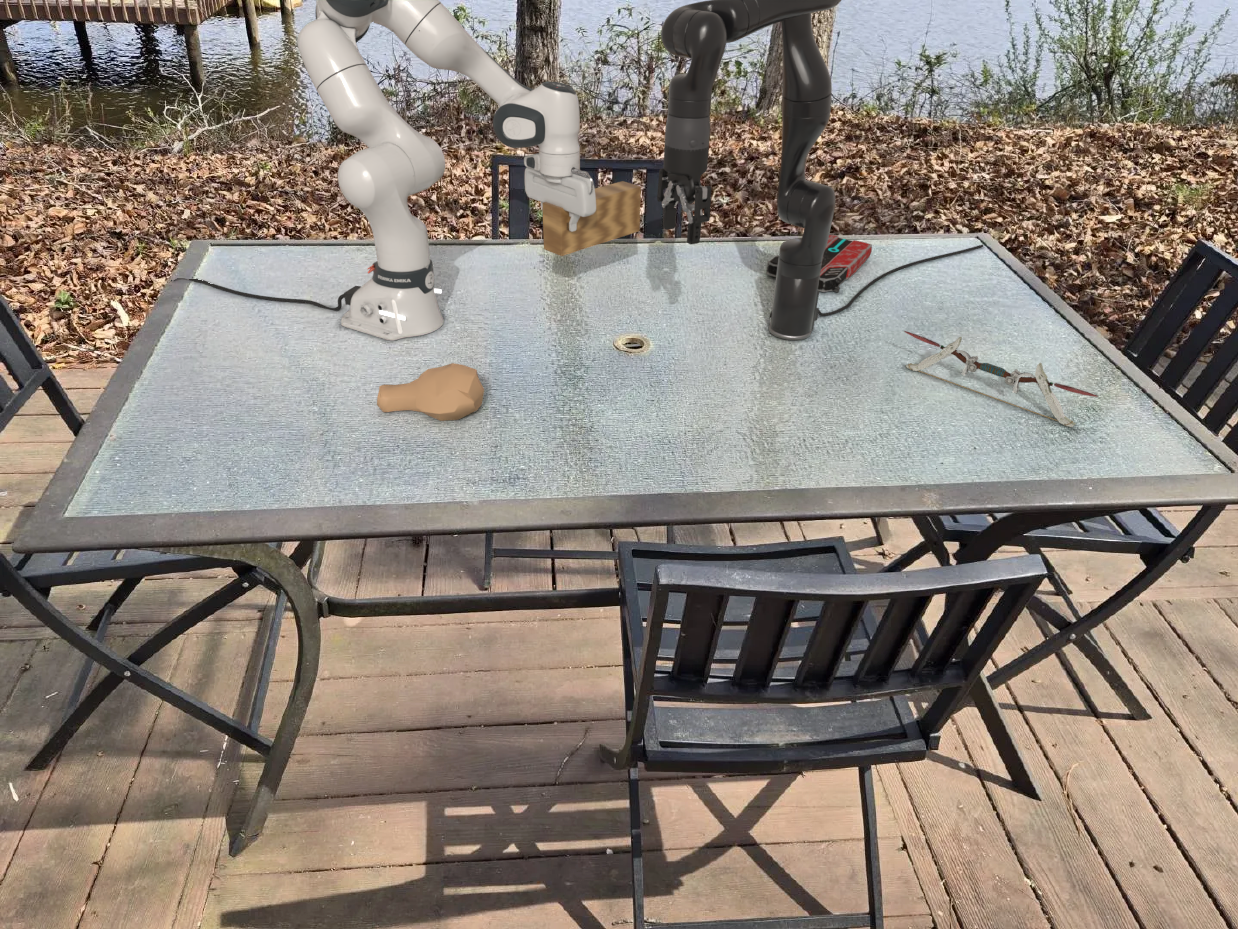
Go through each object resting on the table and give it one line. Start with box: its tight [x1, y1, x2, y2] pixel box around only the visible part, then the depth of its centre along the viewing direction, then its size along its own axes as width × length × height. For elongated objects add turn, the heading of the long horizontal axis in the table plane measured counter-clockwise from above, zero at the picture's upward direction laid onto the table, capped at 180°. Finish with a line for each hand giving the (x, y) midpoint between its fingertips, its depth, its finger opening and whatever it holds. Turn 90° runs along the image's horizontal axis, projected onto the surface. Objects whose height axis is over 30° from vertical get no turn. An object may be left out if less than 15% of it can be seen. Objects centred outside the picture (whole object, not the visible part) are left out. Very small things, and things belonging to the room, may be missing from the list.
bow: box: [903, 330, 1099, 428], centre depth 171 cm, size 39×2×10 cm, turn 47°
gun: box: [765, 233, 873, 293], centre depth 228 cm, size 4×31×19 cm
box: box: [542, 180, 642, 257], centre depth 203 cm, size 25×6×11 cm, turn 135°
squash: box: [376, 362, 485, 422], centre depth 161 cm, size 11×20×9 cm, turn 90°
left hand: (560, 226), depth 197 cm, fingers closed on box, 6 cm apart
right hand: (680, 235), depth 157 cm, fingers open, 8 cm apart
